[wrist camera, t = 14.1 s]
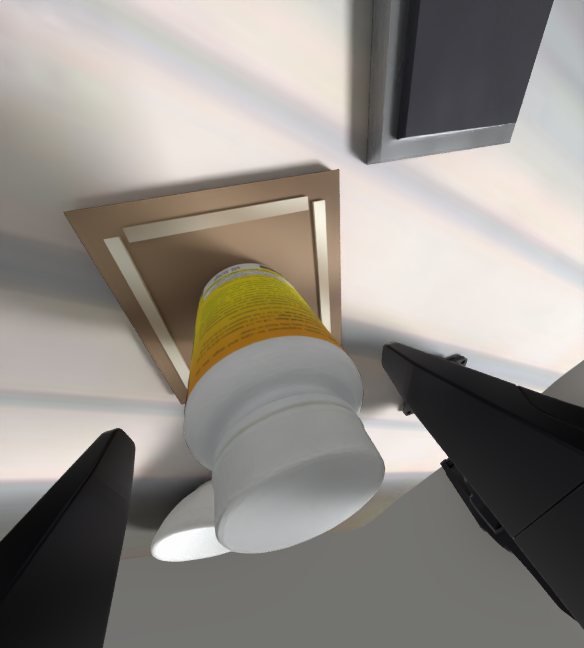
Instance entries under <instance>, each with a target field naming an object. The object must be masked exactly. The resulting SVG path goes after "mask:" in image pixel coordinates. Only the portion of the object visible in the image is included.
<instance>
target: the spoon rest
mask: <svg viewBox="0 0 584 648" xmlns="http://www.w3.org/2000/svg"><path fill="white" fill-rule="evenodd" d="M211 480H212V479H211ZM211 480H209V481H207V482H205V483H203V484H202V485H201V486H199V487H198V488H197V489H196V490H195V491H193V492H192V493H190V494H189V495H188V496H187V497H185V498H184V499H183V500H182V501H181V502H180V503H179V504H178V505H177V506H176V507H175V508H174V509H173V510H172V511H171V512H170V513H169V515H168V516H167V517H166V519H165V520H164V521H163V523H162V525H161V526H160V528H159V530H158V532H157V533H156V535H155V537H154V539H153V541H152V544H151V553H152V555H153V556H154V557H155V558H157V559H159V560H163V561H187V560H194V559H200V558H206V557H211V556H215V555H219V554H223V553H226V552H230V551H231V550H228V549H227V548H225V547H224V546H222V545H221V544H220V543H219V542H218V540H217V538H216V534H215V525H214V490H213V486H212V482H211Z"/></svg>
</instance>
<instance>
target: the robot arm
mask: <svg viewBox="0 0 584 648" xmlns="http://www.w3.org/2000/svg"><path fill="white" fill-rule="evenodd" d="M466 363H467V358H465V357H464V356H460V357H457V358H454V359H452V360H449V361H448V360H445V359H442V358H439V357H437V356H434V355H431V354H428V353H425V352H423V351H420V350H417V349H414V348H411V347H408V346H406V345H403V344H400V343H397V342H391V343H388V344H385V345H384V346H383V352H382V366H383V368H384V369H385V371H386V372H387V374H388V376H389V377H390V379H391V380H392V382H393V383H394V385H395V387H396V388H397V390H398V391H399V393H400V395H401V396H402V398H403V399H404V401H405V403H404V408H403V413H404V414H405V415H406V416H408V415H411V414H413V413H414V414H415V415H416V416H417V418H418V419H419V420H420V421H421V423H422V424H423V425H424V426H425V428H426V429H427V430H428V432H429V433H430V434H431V435H432V437H433V438H434V439H435V440H436V442H437V443H438V444H439V446H440V447H441V448H442V449H443V451H444V452H445V453H446V454H447V456H448V457H449V458H448V459H444V460H443V461H442V462H441V463H440V464H441V466H442V467H443V469H444V470H445V472H446V475H447V476H448V478H449V479H450V481H451V482H452V484H453V485H454V487H455V489H456V490H457V492H458V493H459V495H460V496H461V498H462V499H463V501H464V502H465V504H466V505H467V507H468V508H469V510H470V511H471V513H472V515H473V516H474V517H475V519H476V521H477V522H478V524H479V526H480V527H481V528H482V530H483V531H485V532H487V533H489V534H490V536H492V538H493V539H495V541H497V543H499V544H500V545H501V546H502V547H503V548H505V549H506V550H508V551H509V552H511V553H513V554H514V555H515V556H516V557H517V558H518V559H519V560H520V561H521V562H522V564H523V565H524V566H525V567H526V568H527V569H528V570H529V571H530V573H531V574H532V575H533V576H534V577H535V579H536V580H537V581H538V582H539V583H540V585H541V586H542V587H543V588H544V590H545V591H546V592H547V593H548V594H549V596H550V597H551V598H552V599H553V601H554V602H555V603H556V604H557V605H558V607H559V608H560V609H561V610H563V611H564V612H565V613H567V614H568V615H569V616H571V617H572V618H573V619H575V620H576V621H577V622H578V623H579V624H580V625H581V627H582V628H583V629H584V407H581V406H578V405H575V404H571V403H568V402H565V401H561V400H559V399H556V398H553V397H550V396H547V395H544V394H541V393H538V392H535V391H533V390H530V389H527V388H524V387H521V386H516V385H515V384H513V383H510V382H507V381H504V380H501V379H499V378H496V377H493V376H490V375H487V374H485V373H482V372H479V371H476V370H473V369H470V368H468V367H465V365H466ZM134 460H135V444H134V442H133V441H132V440H131V438H130V437H129V436H128V435H127V434H126V433H125V432H124V431H123V430H122V429H120V428H116V429H113V430H110V431H106V432H104V433H102V434H101V435H100V436H99V437H98V438H97V439H96V440H95V442H94V443H93V444H92V445H91V446H90V447H89V448H88V449H87V450H86V451H85V452H84V453H83V454H82V455H81V456H80V457H79V459H78V460H77V461H76V462H75V463H74V464H73V465H72V466H71V467H70V468H69V469H68V470H67V471H66V472H65V473H64V474H63V476H62V477H61V478H60V479H59V480H58V481H57V482H56V483H55V484H54V485H53V486H52V487H51V488H50V489H49V490H48V491H47V493H46V494H45V495H44V496H43V497H42V498H41V499H40V500H39V501H38V502H37V503H36V504H35V505H34V506H33V507H32V508H31V510H30V511H29V512H28V513H27V514H26V515H25V516H24V517H23V518H22V519H21V520H20V521H19V522H18V523H17V524H16V525H15V526H14V528H13V529H12V530H11V531H10V532H9V533H8V534H7V535H6V536H5V537H4V538H3V539H2V540H1V541H0V648H103V644H104V638H105V634H106V628H107V623H108V617H109V613H110V607H111V602H112V597H113V592H114V587H115V581H116V577H117V571H118V566H119V561H120V556H121V551H122V546H123V540H124V535H125V530H126V525H127V520H128V514H129V509H130V503H131V495H132V483H133V472H134Z"/></svg>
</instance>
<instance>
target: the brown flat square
mask: <svg viewBox="0 0 584 648" xmlns="http://www.w3.org/2000/svg"><path fill="white" fill-rule="evenodd" d="M63 213H64V214H65V216H66V217H67V219H68V221H69V222H70V224H71V226H72V227H73V229H74V230H75V232H76V234H77V235H78V237H79V239H80V240H81V242H82V244H83V245H84V247H85V248H86V250H87V252H88V253H89V255H90V257H91V258H92V260H93V261H94V263H95V265H96V266H97V268H98V270H99V271H100V273H101V274H102V276H103V278H104V279H105V281H106V283H107V284H108V286H109V288H110V289H111V291H112V292H113V294H114V296H115V297H116V299H117V301H118V302H119V304H120V305H121V307H122V309H123V310H124V312H125V314H126V315H127V317H128V318H129V320H130V322H131V323H132V325H133V327H134V328H135V330H136V332H137V333H138V335H139V336H140V338H141V340H142V341H143V343H144V345H145V346H146V348H147V349H148V351H149V353H150V354H151V356H152V358H153V359H154V361H155V362H156V364H157V366H158V367H159V369H160V371H161V372H162V374H163V376H164V377H165V379H166V380H167V382H168V384H169V385H170V387H171V389H172V390H173V392H174V393H175V395H176V397H177V398H178V400H179V402H180V403H181V404H185V401H186V395H187V388H188V380H189V373H190V364H191V357H192V349H193V339H194V332H195V324H196V316H197V310H198V303H199V299H200V296H201V294H202V291H203V290H204V288H205V286H206V285H207V284H208V282H209V281H210V280H211V279H212V278H213V277H214V276H215V275H217V274H218V273H219V272H221V271H223V270H224V269H226V268H229V267H231V266H234V265H238V264H245V263H255V264H261V265H265V266H268V267H270V268H272V269H274V270H276V271H278V272H279V273H280V274H282V275H283V276H284V277H285V278H286V279H287V280H288V281H289V282H290V283H291V285H292V286H293V287H294V288H295V290H296V291H297V292H298V293H299V295H300V296H301V297H302V298H303V299H304V301H305V302H306V303H307V304H308V306H309V307H310V308H311V310H312V311H313V312H314V313H315V315H316V316H317V317H318V318H319V320H320V321H321V322H322V323H323V325H324V326H325V327H326V328H327V330H328V331H329V332H330V333H331V335H332V336H333V337H334V338H335V339H336V341H337V342H338V343H339V344H340V346H341V347H342V342H341V267H340V193H339V169H337V170H330V171H324V172H317V173H311V174H305V175H298V176H292V177H285V178H279V179H272V180H266V181H260V182H253V183H247V184H240V185H234V186H228V187H221V188H215V189H208V190H202V191H195V192H189V193H183V194H176V195H170V196H163V197H157V198H151V199H144V200H138V201H131V202H125V203H118V204H112V205H106V206H99V207H93V208H86V209H80V210H74V211H68V212H63Z"/></svg>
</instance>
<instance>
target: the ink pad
mask: <svg viewBox="0 0 584 648" xmlns="http://www.w3.org/2000/svg"><path fill="white" fill-rule="evenodd" d="M553 1H554V0H374V2H373V27H372V51H371V75H370V100H369V124H368V148H367V165H369V164H376V163H382V162H389V161H395V160H402V159H408V158H415V157H421V156H427V155H434V154H440V153H447V152H453V151H459V150H466V149H472V148H479V147H485V146H491V145H498V144H504V143H510V140H511V136H512V133H513V130H514V127H515V123H516V121H517V118H518V114H519V111H520V108H521V105H522V101H523V98H524V95H525V92H526V88H527V85H528V82H529V79H530V76H531V72H532V69H533V66H534V63H535V59H536V56H537V53H538V50H539V46H540V43H541V40H542V37H543V33H544V30H545V27H546V24H547V20H548V17H549V14H550V11H551V8H552V4H553Z"/></svg>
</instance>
